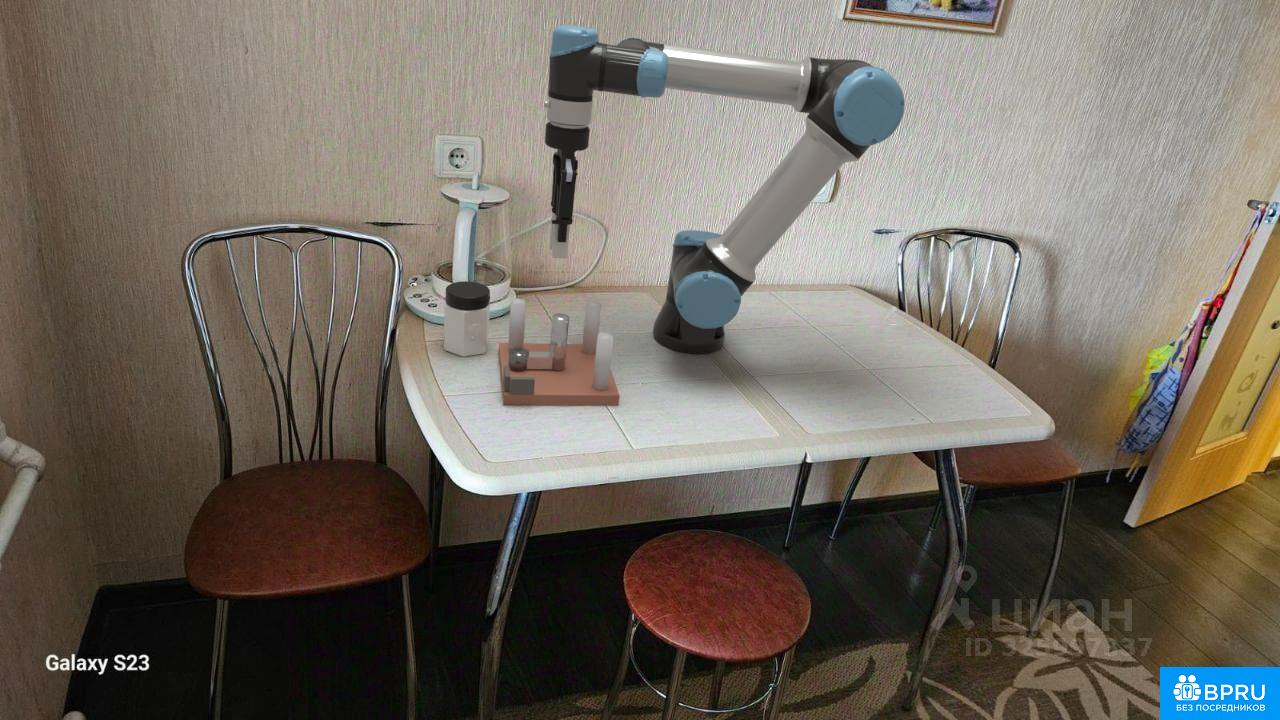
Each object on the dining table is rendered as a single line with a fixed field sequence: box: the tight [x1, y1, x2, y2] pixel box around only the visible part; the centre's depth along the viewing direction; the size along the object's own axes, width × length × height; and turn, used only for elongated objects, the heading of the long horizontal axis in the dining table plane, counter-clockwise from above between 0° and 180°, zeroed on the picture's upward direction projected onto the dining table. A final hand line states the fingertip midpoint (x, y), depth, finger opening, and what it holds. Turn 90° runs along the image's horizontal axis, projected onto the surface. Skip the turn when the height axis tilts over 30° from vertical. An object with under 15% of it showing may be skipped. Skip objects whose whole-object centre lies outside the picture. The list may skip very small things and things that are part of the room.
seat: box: [498, 297, 620, 406], centre depth 147 cm, size 20×20×12 cm
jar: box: [443, 281, 491, 358], centre depth 154 cm, size 9×8×12 cm
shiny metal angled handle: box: [508, 312, 570, 371], centre depth 146 cm, size 10×4×10 cm, turn 102°
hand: (558, 252), depth 149 cm, fingers open, 4 cm apart
